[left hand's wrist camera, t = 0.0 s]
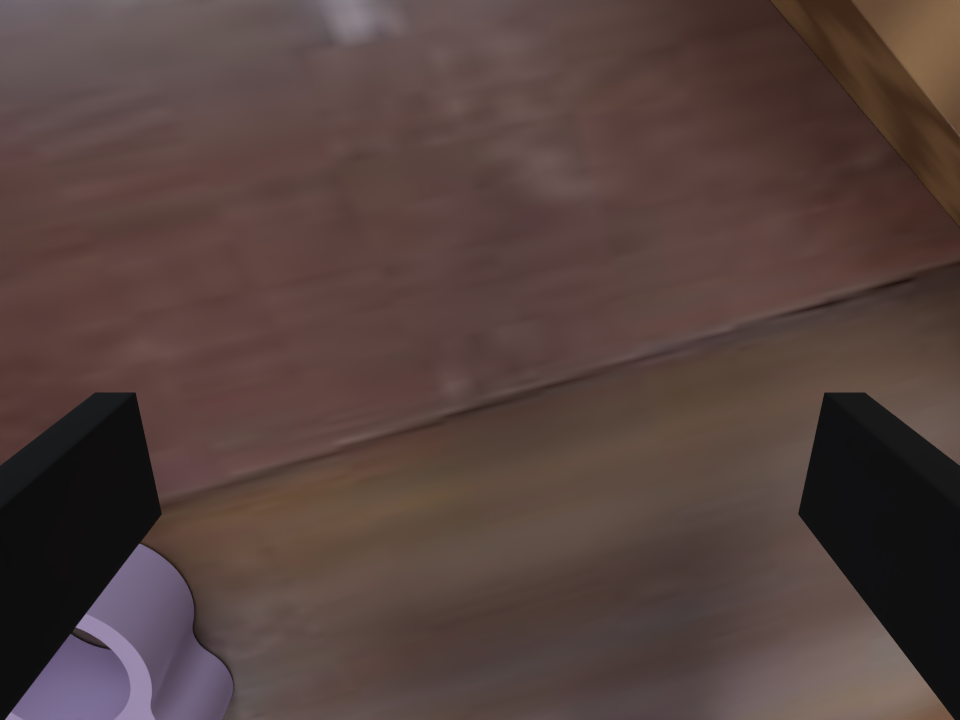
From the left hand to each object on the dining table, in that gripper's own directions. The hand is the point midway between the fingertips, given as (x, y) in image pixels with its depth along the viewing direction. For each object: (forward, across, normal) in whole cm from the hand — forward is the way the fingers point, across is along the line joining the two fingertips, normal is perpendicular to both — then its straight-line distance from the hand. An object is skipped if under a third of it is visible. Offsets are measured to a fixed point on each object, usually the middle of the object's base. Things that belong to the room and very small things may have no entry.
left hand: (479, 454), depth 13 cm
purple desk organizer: (+28, +27, +31) cm, 50 cm away
